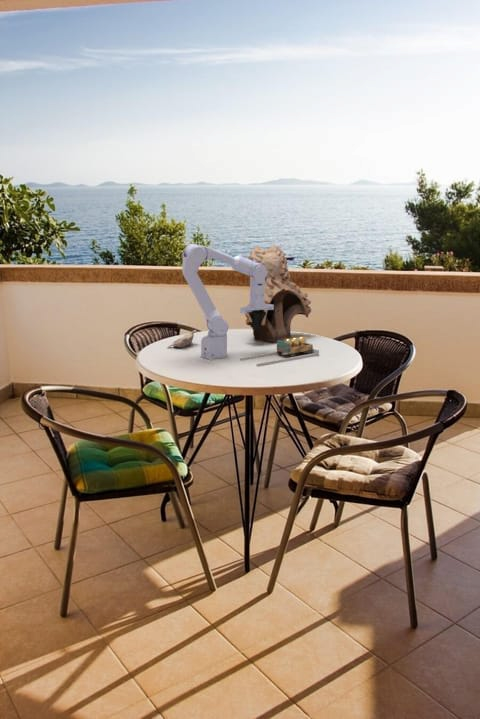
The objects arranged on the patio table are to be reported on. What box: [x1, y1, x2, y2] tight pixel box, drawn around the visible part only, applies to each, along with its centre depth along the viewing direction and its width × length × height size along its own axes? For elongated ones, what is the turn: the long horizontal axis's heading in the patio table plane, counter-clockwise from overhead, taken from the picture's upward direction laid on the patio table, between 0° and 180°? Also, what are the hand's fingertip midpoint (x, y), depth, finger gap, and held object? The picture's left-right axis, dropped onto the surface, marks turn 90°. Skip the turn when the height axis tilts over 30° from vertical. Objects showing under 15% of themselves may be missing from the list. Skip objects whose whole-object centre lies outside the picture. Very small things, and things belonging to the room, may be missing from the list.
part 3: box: [297, 335, 307, 347], centre depth 256 cm, size 3×3×4 cm
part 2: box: [291, 336, 299, 348], centre depth 254 cm, size 3×3×4 cm
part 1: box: [284, 337, 292, 348], centre depth 252 cm, size 3×3×4 cm
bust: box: [244, 244, 312, 344], centre depth 281 cm, size 34×18×40 cm, turn 130°
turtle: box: [167, 329, 197, 348], centre depth 272 cm, size 16×10×10 cm, turn 5°
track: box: [239, 348, 320, 367], centre depth 251 cm, size 29×12×3 cm, turn 126°
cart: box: [276, 340, 313, 358], centre depth 254 cm, size 12×9×6 cm
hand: (257, 329), depth 256 cm, fingers closed
